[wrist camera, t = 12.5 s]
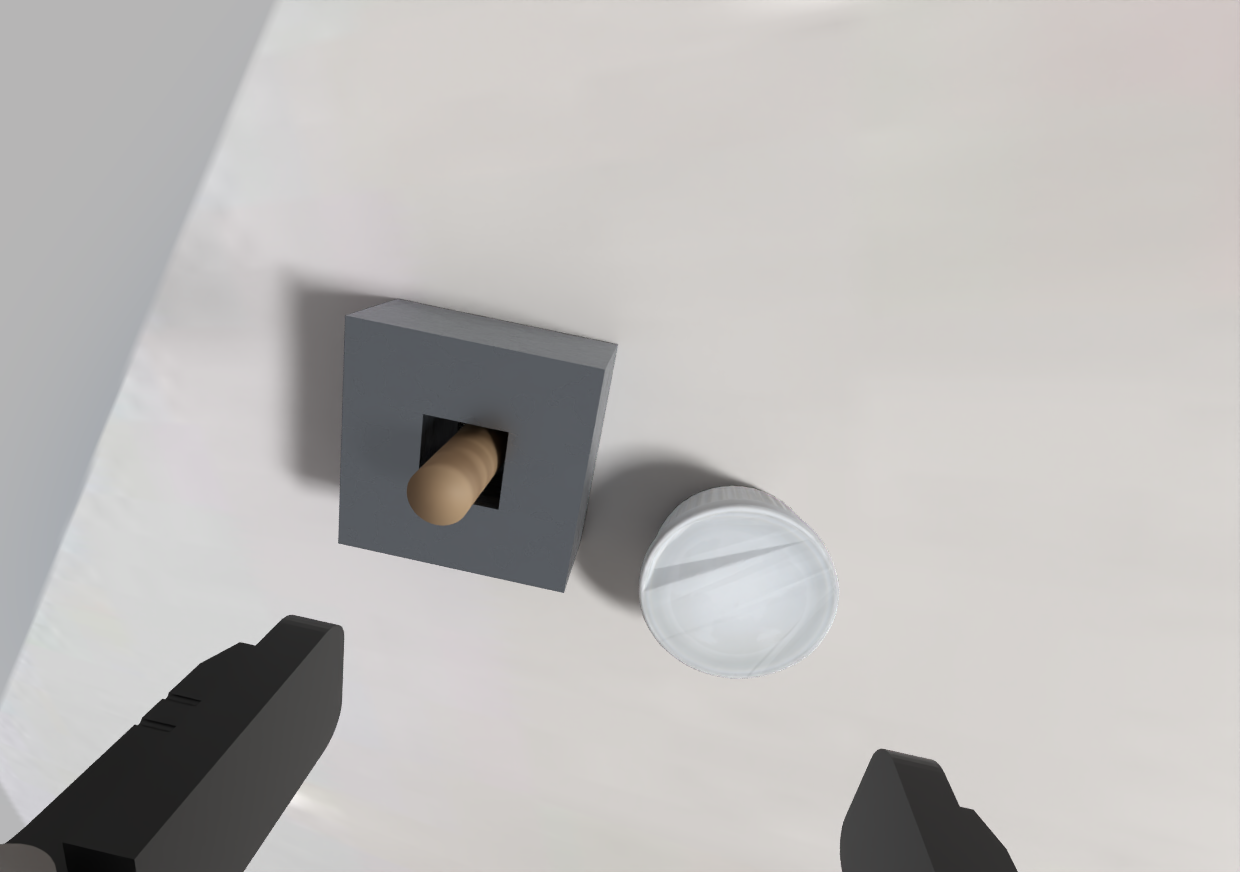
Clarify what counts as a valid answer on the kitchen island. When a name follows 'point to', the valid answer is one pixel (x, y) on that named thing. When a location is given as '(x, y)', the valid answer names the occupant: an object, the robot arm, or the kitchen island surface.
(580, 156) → the kitchen island surface
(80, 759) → the kitchen island surface
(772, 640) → the ramekin
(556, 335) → the hole block
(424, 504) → the walnut peg
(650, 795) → the kitchen island surface
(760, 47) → the kitchen island surface
